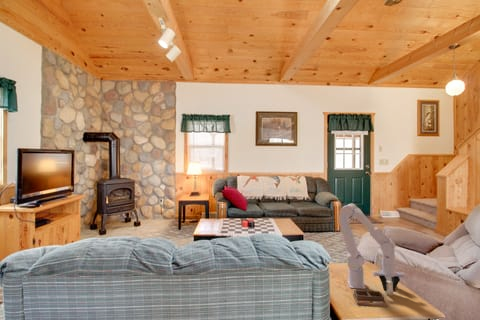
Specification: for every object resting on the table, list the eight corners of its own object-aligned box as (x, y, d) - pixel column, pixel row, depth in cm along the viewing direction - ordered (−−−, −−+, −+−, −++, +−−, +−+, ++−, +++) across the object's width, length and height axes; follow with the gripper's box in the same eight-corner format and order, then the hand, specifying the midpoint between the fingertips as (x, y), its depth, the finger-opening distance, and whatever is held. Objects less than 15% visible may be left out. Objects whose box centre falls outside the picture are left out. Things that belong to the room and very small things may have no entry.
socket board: (353, 295, 142) (352, 289, 142) (380, 297, 140) (380, 291, 140) (357, 304, 133) (357, 298, 133) (387, 306, 131) (386, 300, 131)
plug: (384, 292, 145) (384, 280, 145) (391, 292, 145) (391, 280, 145) (386, 295, 142) (386, 283, 142) (394, 295, 141) (394, 283, 141)
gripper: (375, 266, 141) (376, 293, 140) (407, 267, 138) (408, 295, 138) (371, 261, 148) (372, 287, 147) (401, 262, 145) (402, 288, 145)
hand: (389, 290), depth 143 cm, fingers closed on plug, 4 cm apart
